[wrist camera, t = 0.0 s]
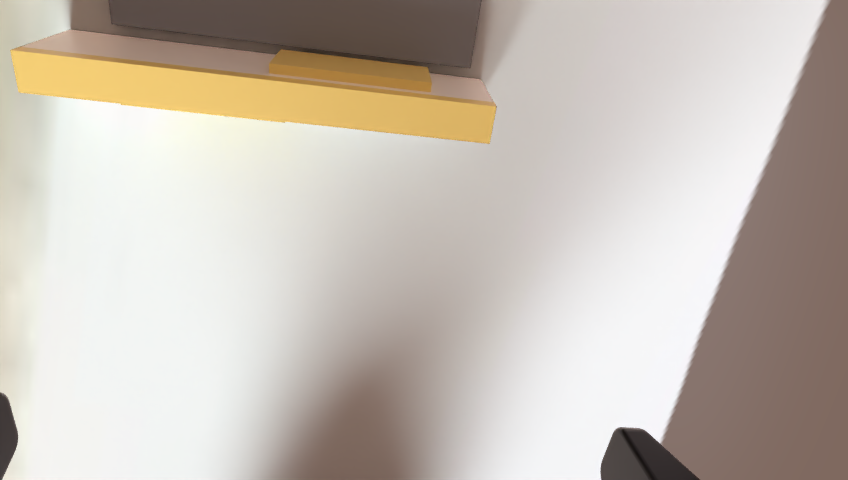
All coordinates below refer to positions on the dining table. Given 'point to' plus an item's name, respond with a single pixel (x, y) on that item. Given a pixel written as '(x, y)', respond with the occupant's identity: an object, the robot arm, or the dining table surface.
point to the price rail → (256, 85)
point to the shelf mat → (322, 24)
